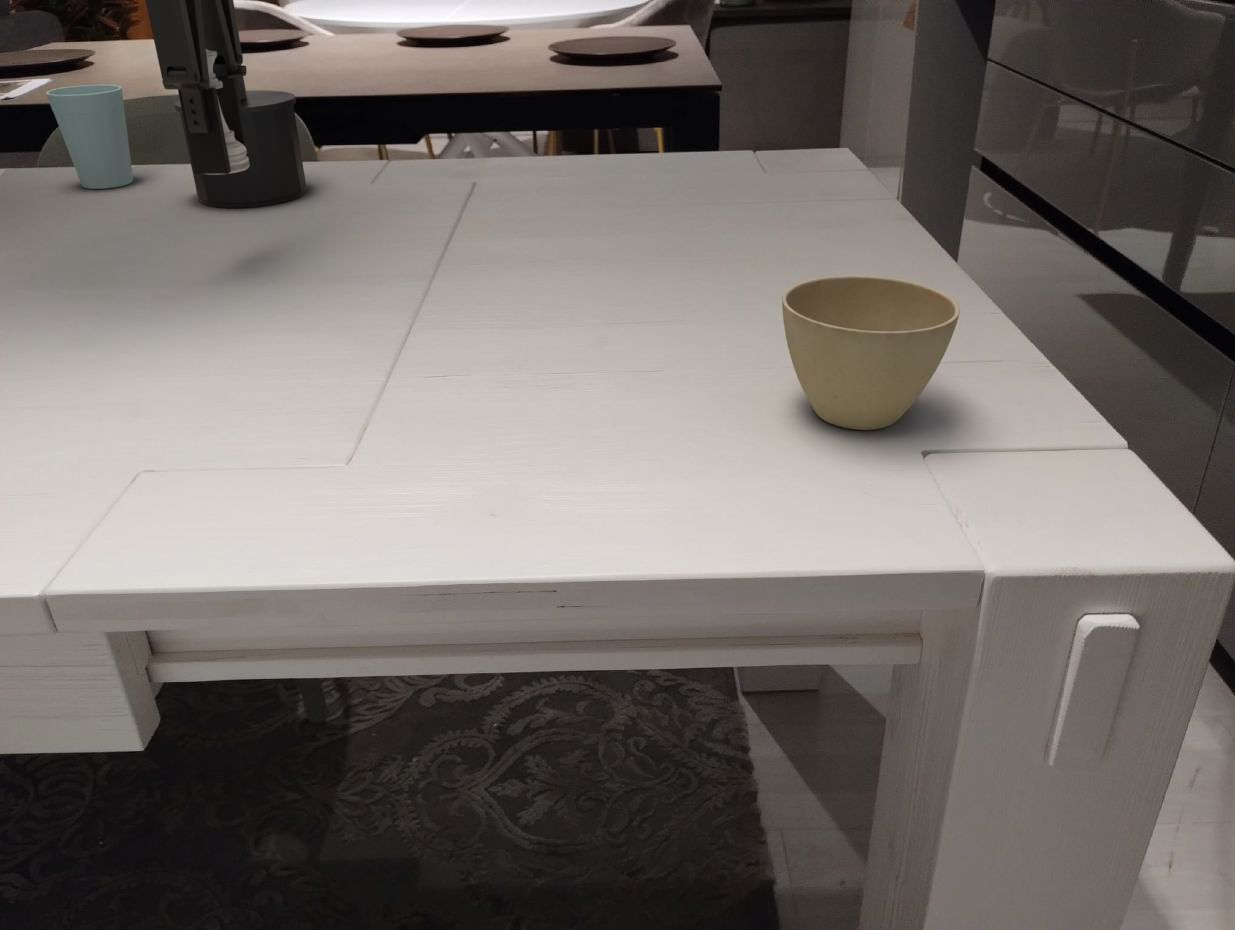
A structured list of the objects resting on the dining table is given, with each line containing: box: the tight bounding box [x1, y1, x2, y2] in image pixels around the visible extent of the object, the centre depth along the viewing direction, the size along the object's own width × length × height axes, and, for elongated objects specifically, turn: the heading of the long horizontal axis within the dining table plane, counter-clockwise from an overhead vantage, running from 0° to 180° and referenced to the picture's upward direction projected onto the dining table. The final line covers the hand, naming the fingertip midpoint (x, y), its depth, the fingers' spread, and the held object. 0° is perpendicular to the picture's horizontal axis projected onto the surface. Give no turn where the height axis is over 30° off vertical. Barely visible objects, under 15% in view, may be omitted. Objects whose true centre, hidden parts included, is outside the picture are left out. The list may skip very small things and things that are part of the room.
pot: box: [179, 104, 307, 209], centre depth 110 cm, size 11×11×10 cm
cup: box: [45, 84, 134, 190], centre depth 115 cm, size 8×8×10 cm
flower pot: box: [781, 274, 961, 431], centre depth 60 cm, size 10×10×7 cm
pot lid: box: [173, 64, 297, 114], centre depth 106 cm, size 12×12×7 cm
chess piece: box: [206, 49, 250, 175], centre depth 82 cm, size 4×4×10 cm
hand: (223, 164), depth 85 cm, fingers closed on chess piece, 4 cm apart
